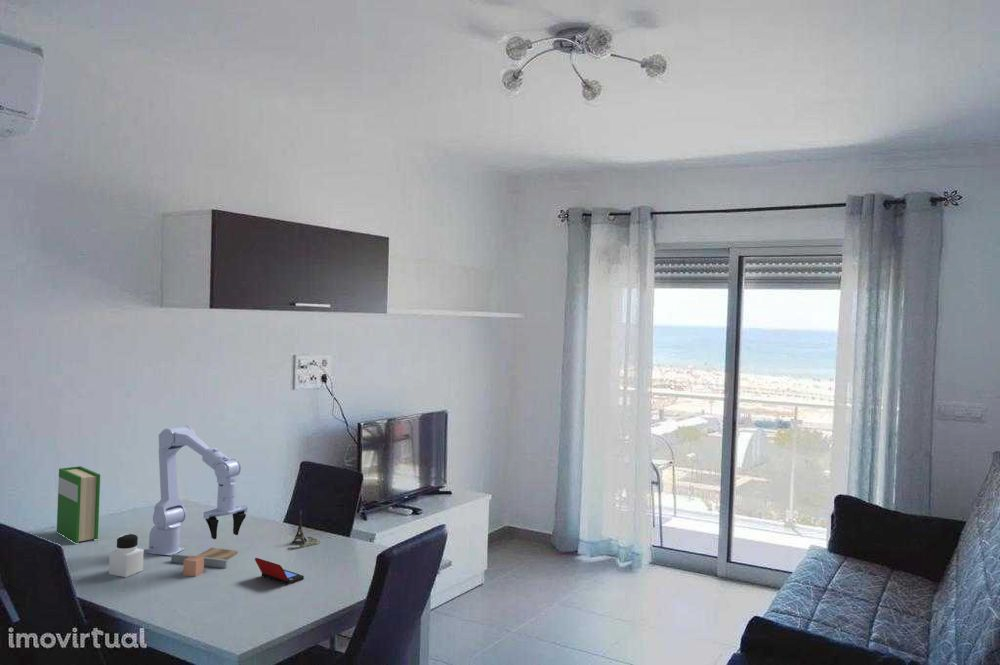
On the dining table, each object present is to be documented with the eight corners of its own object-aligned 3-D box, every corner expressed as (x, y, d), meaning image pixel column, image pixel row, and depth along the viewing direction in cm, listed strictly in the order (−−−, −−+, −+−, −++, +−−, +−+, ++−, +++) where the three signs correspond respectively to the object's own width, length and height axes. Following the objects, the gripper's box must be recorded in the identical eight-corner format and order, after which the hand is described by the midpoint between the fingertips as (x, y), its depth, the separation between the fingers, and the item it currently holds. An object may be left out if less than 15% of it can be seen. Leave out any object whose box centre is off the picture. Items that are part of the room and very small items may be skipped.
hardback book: (97, 540, 270) (100, 474, 269) (75, 544, 264) (78, 477, 264) (78, 529, 281) (80, 466, 281) (56, 533, 276) (58, 468, 275)
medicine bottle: (143, 570, 242) (144, 534, 242) (125, 577, 236) (127, 540, 235) (126, 567, 245) (127, 531, 244) (108, 574, 238) (109, 536, 238)
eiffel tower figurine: (289, 552, 270) (291, 515, 269) (274, 545, 276) (275, 509, 276) (324, 543, 281) (325, 508, 281) (308, 537, 288) (310, 503, 287)
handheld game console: (305, 579, 243) (306, 557, 242) (279, 589, 233) (280, 565, 233) (279, 571, 249) (280, 548, 249) (252, 579, 240) (253, 557, 240)
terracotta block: (182, 575, 241) (183, 559, 240) (191, 570, 245) (191, 555, 245) (195, 576, 240) (196, 561, 240) (203, 572, 244) (204, 556, 244)
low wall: (171, 561, 252) (171, 554, 252) (173, 560, 253) (173, 553, 253) (225, 568, 249) (225, 560, 248) (227, 567, 250) (227, 559, 249)
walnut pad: (195, 559, 255) (195, 556, 255) (211, 550, 265) (211, 547, 265) (221, 562, 254) (222, 559, 254) (237, 553, 264) (237, 550, 263)
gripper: (211, 501, 243) (209, 543, 243) (252, 495, 253) (250, 535, 253) (201, 497, 248) (199, 538, 248) (242, 491, 258) (240, 530, 258)
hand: (224, 536), depth 251 cm, fingers open, 7 cm apart
